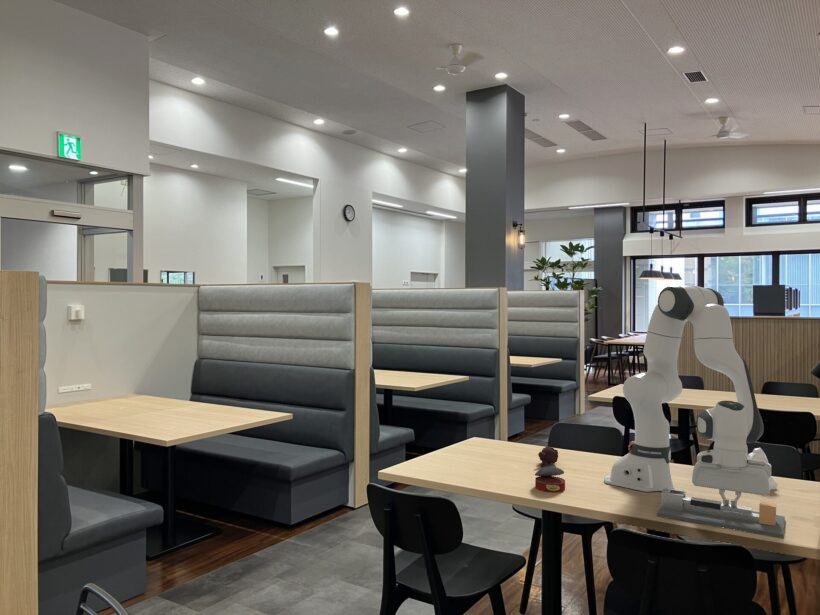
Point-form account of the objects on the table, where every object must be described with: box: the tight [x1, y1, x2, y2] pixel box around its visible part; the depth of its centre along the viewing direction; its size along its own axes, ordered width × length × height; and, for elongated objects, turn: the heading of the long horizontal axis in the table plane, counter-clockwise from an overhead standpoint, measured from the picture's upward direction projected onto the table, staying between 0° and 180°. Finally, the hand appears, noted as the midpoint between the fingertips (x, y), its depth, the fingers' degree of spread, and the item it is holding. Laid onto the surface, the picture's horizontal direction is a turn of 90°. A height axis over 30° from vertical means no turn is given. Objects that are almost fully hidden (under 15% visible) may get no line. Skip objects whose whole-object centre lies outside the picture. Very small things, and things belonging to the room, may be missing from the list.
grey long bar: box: [660, 488, 776, 525], centre depth 188 cm, size 30×6×4 cm, turn 59°
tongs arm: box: [683, 496, 753, 515], centre depth 189 cm, size 21×3×2 cm, turn 59°
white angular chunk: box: [748, 447, 779, 491], centre depth 223 cm, size 12×15×14 cm
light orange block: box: [758, 500, 777, 526], centre depth 181 cm, size 4×5×5 cm
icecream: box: [537, 445, 559, 468], centre depth 249 cm, size 7×7×15 cm
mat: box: [656, 506, 786, 539], centre depth 188 cm, size 32×18×1 cm, turn 59°
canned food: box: [534, 466, 566, 493], centre depth 216 cm, size 11×10×10 cm
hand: (729, 505), depth 186 cm, fingers closed, pressing on tongs arm
